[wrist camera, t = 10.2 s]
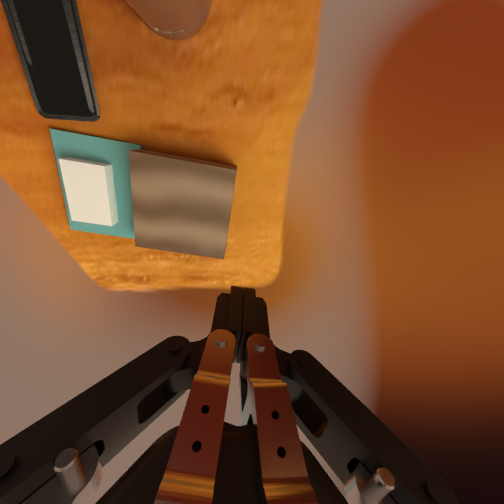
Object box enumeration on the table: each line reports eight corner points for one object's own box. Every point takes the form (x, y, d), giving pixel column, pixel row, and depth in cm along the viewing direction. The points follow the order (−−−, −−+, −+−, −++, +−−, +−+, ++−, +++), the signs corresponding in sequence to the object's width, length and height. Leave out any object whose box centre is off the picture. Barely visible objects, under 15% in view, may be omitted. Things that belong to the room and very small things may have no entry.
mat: (52, 128, 31) (49, 128, 31) (141, 145, 32) (139, 145, 32) (73, 227, 38) (70, 229, 38) (145, 238, 39) (144, 240, 39)
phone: (62, -44, 24) (98, 121, 30) (69, -37, 25) (103, 122, 31) (-17, -51, 23) (38, 117, 30) (-6, -44, 24) (44, 118, 31)
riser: (141, 148, 33) (128, 150, 29) (237, 166, 34) (235, 170, 30) (145, 236, 39) (135, 246, 36) (225, 248, 40) (223, 259, 37)
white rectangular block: (104, 166, 31) (112, 164, 33) (58, 158, 31) (68, 157, 33) (112, 226, 35) (118, 221, 37) (71, 220, 35) (80, 216, 37)
